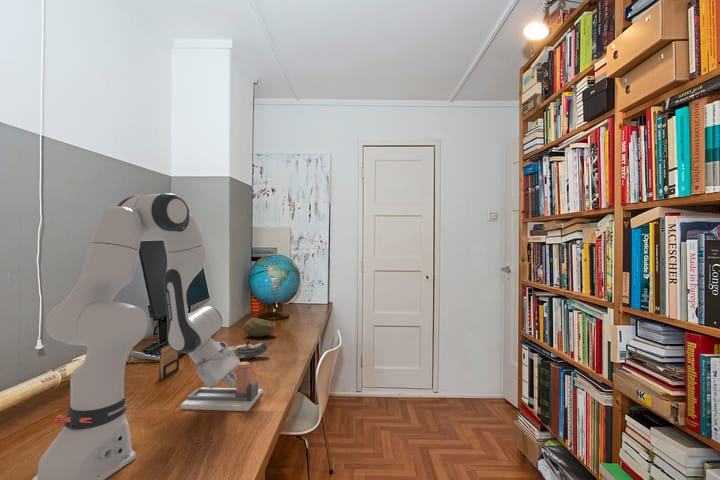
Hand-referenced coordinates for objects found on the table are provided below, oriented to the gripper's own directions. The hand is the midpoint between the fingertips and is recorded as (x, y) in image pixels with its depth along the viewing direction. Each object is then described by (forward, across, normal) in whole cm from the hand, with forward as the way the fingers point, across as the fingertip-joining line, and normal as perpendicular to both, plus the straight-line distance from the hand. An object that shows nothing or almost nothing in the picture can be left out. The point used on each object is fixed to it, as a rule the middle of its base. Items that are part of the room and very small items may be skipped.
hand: (236, 385), depth 131 cm
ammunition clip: (-22, +23, +30) cm, 44 cm away
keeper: (+4, 0, +1) cm, 4 cm away
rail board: (+1, 0, +7) cm, 7 cm away
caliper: (-34, +37, +42) cm, 65 cm away
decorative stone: (-10, +82, +18) cm, 84 cm away
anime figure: (-9, +44, +18) cm, 48 cm away
